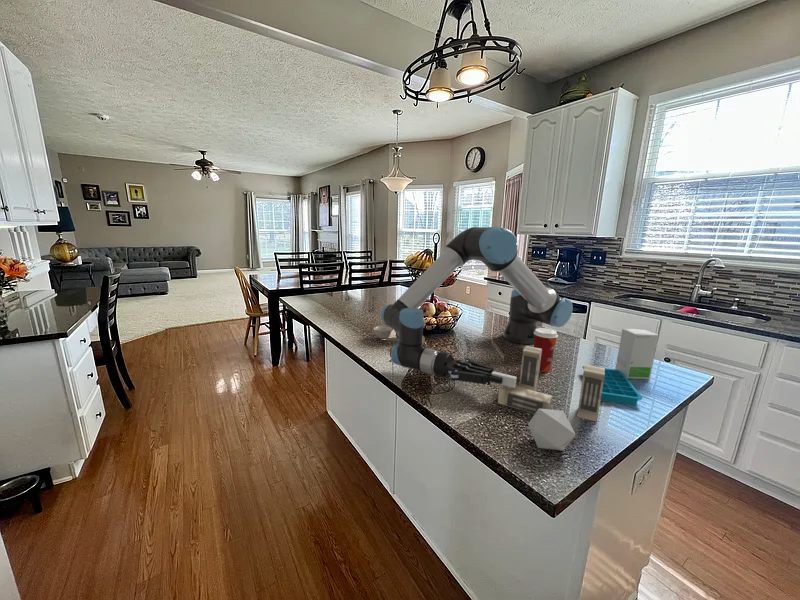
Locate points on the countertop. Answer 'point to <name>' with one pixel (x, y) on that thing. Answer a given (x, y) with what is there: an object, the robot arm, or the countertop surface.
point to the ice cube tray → (618, 388)
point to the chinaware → (386, 331)
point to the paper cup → (545, 346)
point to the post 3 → (591, 392)
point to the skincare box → (636, 353)
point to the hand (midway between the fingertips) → (515, 382)
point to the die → (551, 429)
